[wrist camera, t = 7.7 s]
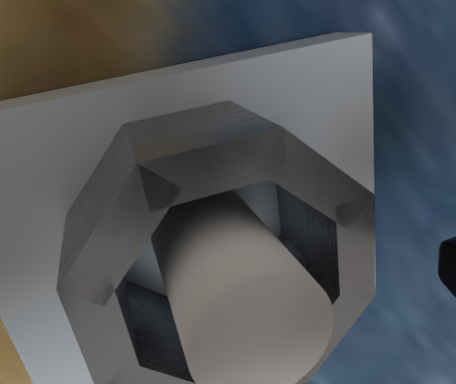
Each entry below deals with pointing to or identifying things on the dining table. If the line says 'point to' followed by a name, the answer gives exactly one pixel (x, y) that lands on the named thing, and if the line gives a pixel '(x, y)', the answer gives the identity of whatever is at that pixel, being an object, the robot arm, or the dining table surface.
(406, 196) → the dining table surface
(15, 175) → the shaft block
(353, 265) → the hub ring
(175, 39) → the dining table surface
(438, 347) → the dining table surface
